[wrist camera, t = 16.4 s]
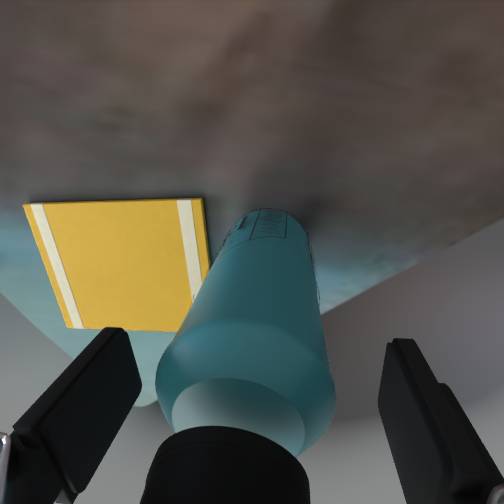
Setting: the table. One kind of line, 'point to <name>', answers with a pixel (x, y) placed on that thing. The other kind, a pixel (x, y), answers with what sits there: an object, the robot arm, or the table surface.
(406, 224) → the table surface
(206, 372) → the beverage bottle
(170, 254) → the towel
